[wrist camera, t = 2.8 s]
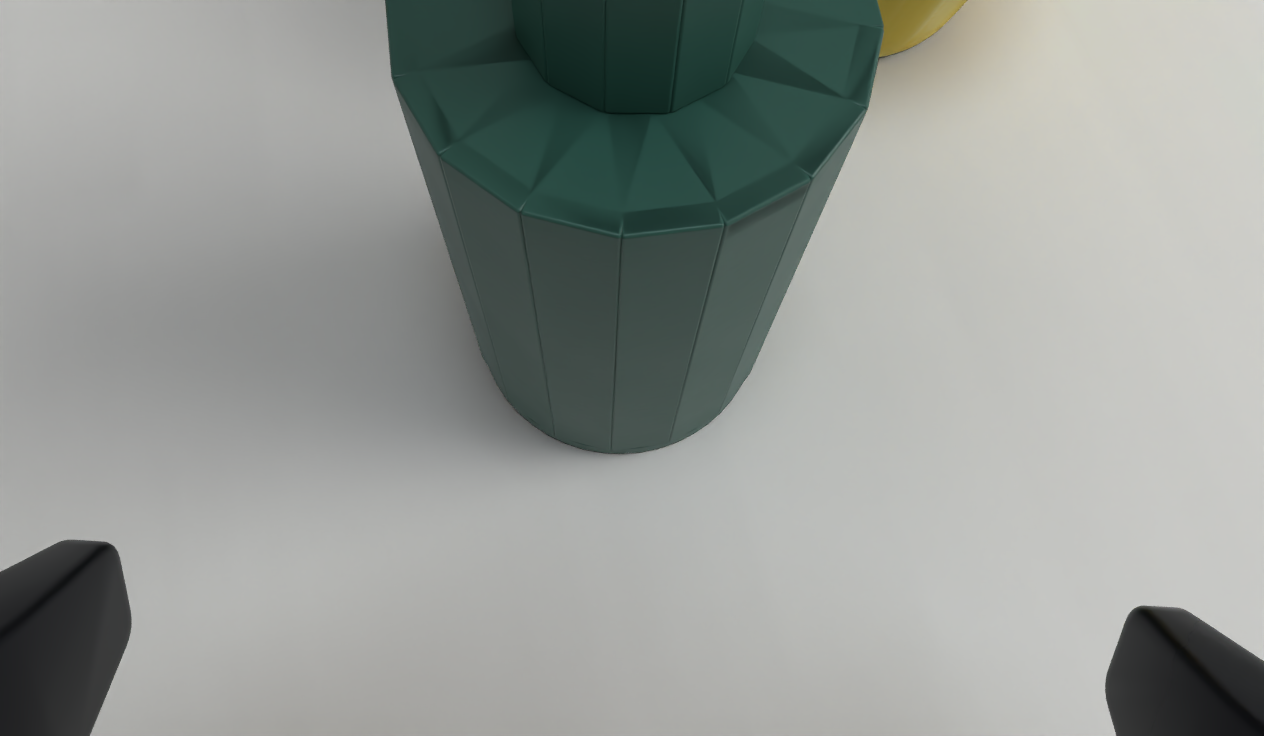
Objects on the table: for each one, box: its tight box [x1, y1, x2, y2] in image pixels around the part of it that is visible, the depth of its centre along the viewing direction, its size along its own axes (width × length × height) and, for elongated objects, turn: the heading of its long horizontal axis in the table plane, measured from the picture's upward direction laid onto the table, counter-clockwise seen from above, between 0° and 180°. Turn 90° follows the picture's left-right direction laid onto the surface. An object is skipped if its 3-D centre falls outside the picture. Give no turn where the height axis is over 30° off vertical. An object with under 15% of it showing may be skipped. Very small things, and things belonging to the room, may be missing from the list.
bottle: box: [385, 0, 884, 454], centre depth 18 cm, size 7×7×15 cm
